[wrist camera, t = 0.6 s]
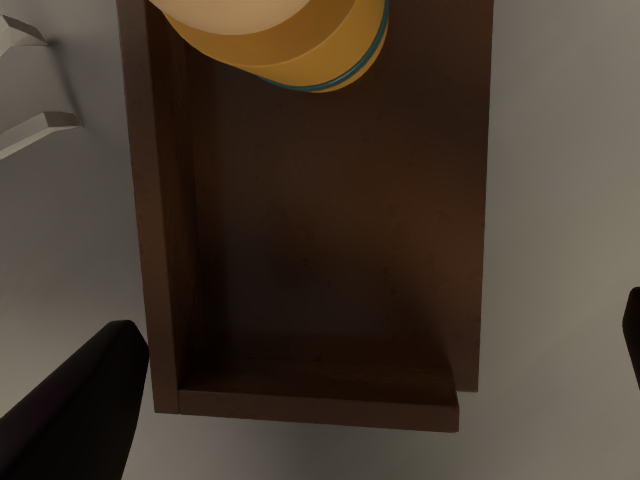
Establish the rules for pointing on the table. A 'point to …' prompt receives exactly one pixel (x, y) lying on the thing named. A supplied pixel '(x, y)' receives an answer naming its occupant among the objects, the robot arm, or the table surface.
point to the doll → (286, 37)
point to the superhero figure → (13, 32)
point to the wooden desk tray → (313, 225)
